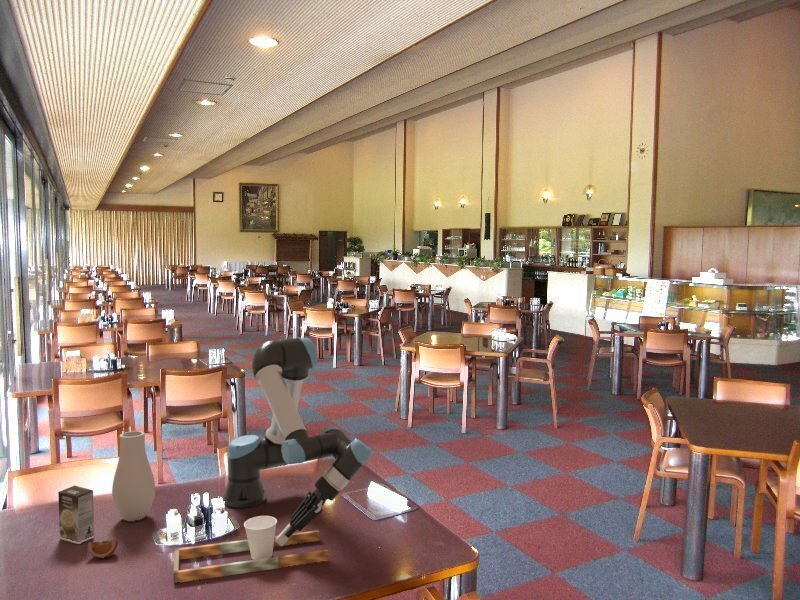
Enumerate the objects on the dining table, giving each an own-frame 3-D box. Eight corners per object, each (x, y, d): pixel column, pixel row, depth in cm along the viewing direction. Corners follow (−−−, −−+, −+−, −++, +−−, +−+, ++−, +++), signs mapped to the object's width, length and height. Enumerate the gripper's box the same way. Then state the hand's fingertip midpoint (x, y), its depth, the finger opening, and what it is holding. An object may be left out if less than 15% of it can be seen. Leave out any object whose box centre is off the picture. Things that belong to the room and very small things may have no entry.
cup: (267, 567, 191) (266, 531, 190) (238, 562, 194) (237, 527, 193) (284, 552, 200) (283, 517, 199) (256, 548, 204) (255, 514, 203)
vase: (104, 522, 222) (101, 437, 220) (134, 508, 235) (131, 426, 232) (135, 529, 217) (132, 441, 214) (164, 514, 229) (162, 430, 227)
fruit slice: (85, 562, 194) (84, 546, 194) (92, 552, 201) (91, 536, 200) (114, 560, 195) (114, 544, 195) (120, 550, 202) (120, 534, 201)
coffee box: (58, 540, 209) (56, 491, 207) (76, 532, 214) (74, 485, 213) (78, 545, 205) (76, 496, 204) (95, 537, 211) (94, 489, 209)
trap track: (318, 539, 210) (318, 530, 210) (328, 560, 195) (328, 551, 195) (175, 558, 196) (174, 548, 196) (173, 583, 182) (173, 573, 182)
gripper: (344, 498, 196) (290, 559, 192) (335, 483, 208) (284, 541, 204) (327, 483, 194) (272, 545, 190) (318, 469, 206) (266, 527, 202)
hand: (278, 543), depth 197 cm, fingers closed
